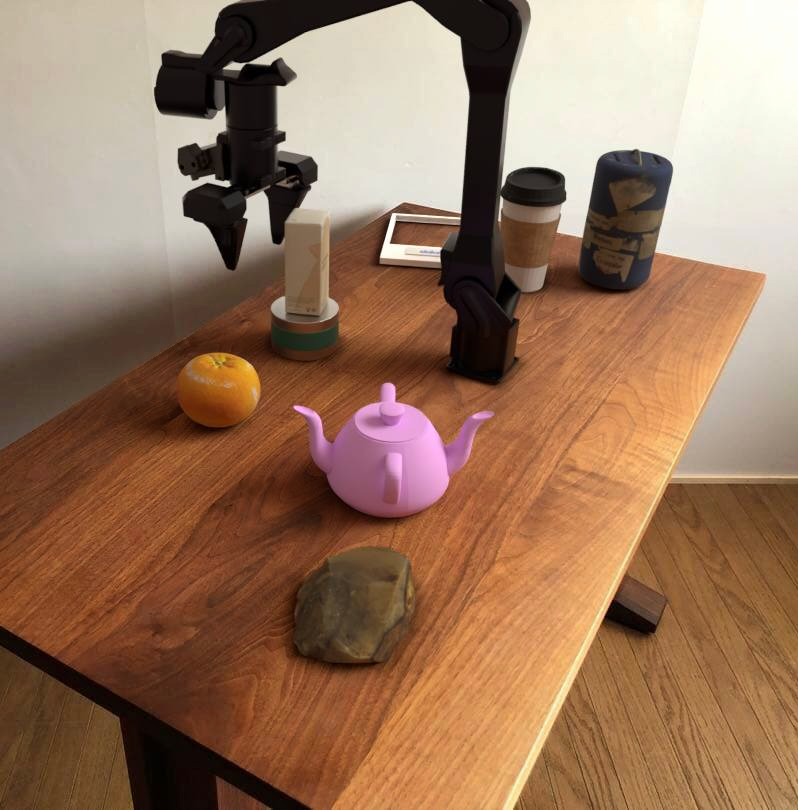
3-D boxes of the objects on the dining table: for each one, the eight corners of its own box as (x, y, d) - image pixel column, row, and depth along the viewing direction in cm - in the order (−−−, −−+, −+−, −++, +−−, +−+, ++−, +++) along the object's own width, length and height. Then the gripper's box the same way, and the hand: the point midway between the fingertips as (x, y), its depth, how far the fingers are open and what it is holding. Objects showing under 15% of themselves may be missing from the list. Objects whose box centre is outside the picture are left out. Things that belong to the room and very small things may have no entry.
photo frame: (379, 256, 129) (392, 212, 144) (379, 263, 130) (392, 218, 145) (484, 264, 127) (486, 218, 142) (483, 271, 128) (485, 225, 143)
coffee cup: (561, 279, 126) (578, 172, 118) (539, 302, 120) (556, 191, 112) (503, 266, 130) (516, 161, 122) (479, 287, 124) (492, 179, 116)
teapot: (292, 483, 87) (292, 404, 82) (398, 432, 94) (403, 357, 89) (378, 548, 79) (383, 464, 74) (485, 487, 86) (496, 408, 81)
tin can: (350, 340, 111) (352, 303, 108) (314, 368, 105) (315, 329, 102) (295, 323, 115) (295, 287, 112) (257, 349, 109) (256, 311, 106)
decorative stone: (405, 680, 67) (408, 647, 65) (280, 660, 69) (280, 627, 67) (418, 582, 76) (421, 550, 74) (307, 566, 77) (307, 534, 75)
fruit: (287, 385, 95) (241, 329, 92) (242, 445, 91) (192, 389, 88) (241, 389, 102) (196, 337, 98) (197, 446, 98) (148, 393, 94)
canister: (571, 287, 123) (594, 156, 114) (580, 261, 131) (602, 136, 121) (645, 299, 120) (675, 165, 111) (650, 272, 128) (679, 144, 118)
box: (320, 317, 105) (321, 225, 99) (283, 313, 106) (282, 222, 100) (329, 297, 109) (331, 209, 103) (294, 294, 110) (294, 206, 104)
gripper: (243, 95, 110) (246, 218, 118) (138, 131, 97) (150, 267, 105) (321, 109, 105) (319, 237, 113) (221, 149, 91) (227, 290, 100)
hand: (254, 256), depth 108 cm, fingers open, 9 cm apart
